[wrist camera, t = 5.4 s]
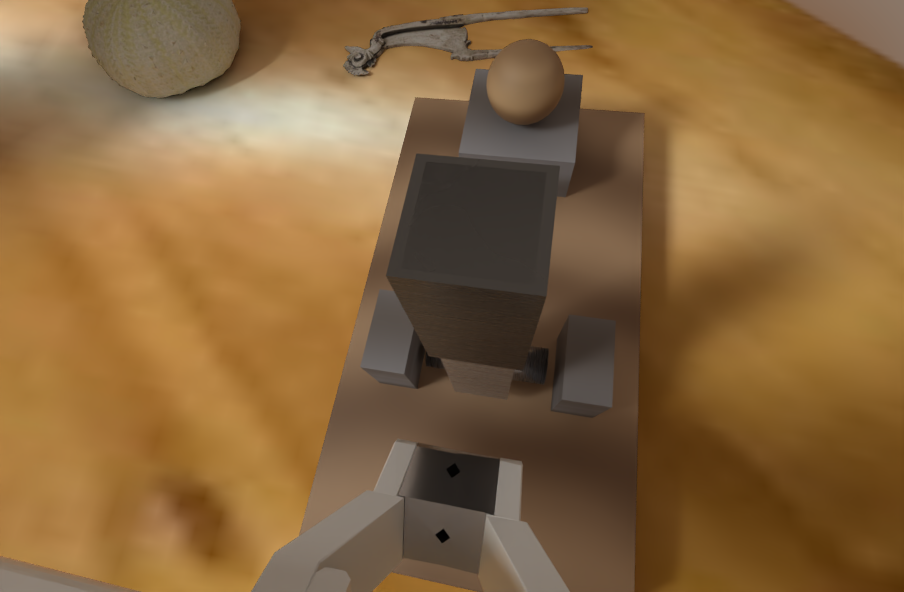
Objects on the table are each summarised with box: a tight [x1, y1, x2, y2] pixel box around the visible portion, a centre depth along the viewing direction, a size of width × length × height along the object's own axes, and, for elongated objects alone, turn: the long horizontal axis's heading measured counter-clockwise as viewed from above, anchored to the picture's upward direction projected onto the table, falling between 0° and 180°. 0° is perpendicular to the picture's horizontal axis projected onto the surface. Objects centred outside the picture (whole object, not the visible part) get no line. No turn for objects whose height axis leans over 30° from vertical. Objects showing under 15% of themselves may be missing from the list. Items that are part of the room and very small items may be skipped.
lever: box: [386, 153, 560, 400], centre depth 12 cm, size 2×5×12 cm, turn 80°
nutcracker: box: [343, 8, 592, 75], centre depth 28 cm, size 16×1×5 cm
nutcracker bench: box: [299, 39, 644, 592], centre depth 17 cm, size 22×12×8 cm, turn 170°
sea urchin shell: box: [82, 0, 241, 98], centre depth 28 cm, size 9×8×8 cm
